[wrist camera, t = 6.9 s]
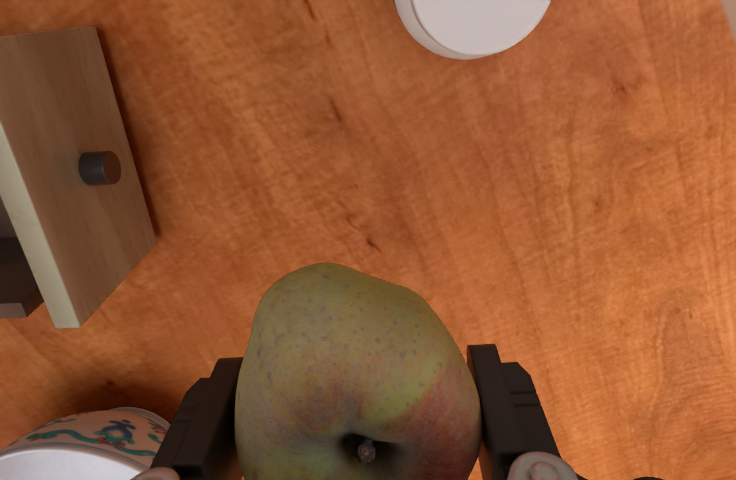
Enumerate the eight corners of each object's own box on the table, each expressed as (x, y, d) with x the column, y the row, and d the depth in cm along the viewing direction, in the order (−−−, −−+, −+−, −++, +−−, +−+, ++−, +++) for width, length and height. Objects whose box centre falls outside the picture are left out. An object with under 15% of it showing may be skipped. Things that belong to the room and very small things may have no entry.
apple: (313, 448, 18) (282, 646, 12) (221, 250, 14) (123, 405, 9) (486, 416, 17) (532, 615, 11) (431, 197, 13) (460, 334, 8)
